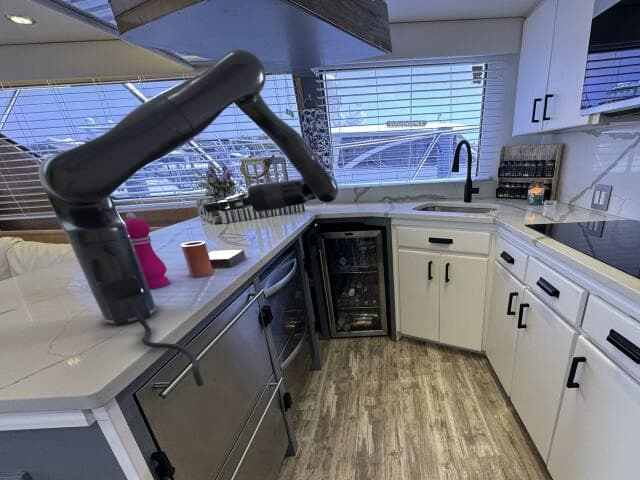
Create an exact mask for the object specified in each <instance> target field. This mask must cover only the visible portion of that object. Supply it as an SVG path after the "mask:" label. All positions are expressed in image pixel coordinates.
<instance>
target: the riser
mask: <svg viewBox="0 0 640 480" xmlns="http://www.w3.org/2000/svg"><path fill="white" fill-rule="evenodd" d="M208 253H209V257H210V260H211V264H212V267H213V269H226V268H227V269H229V268H230V269H231V268H232V267H234V266H236V265H238V264H239V263H240V262H242V261H243V260H245V259H246V254H245V250H244V249H235V250H234V249H233V250H212V251H210V252H208Z"/></svg>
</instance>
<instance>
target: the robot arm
mask: <svg viewBox="0 0 640 480" xmlns="http://www.w3.org/2000/svg"><path fill="white" fill-rule="evenodd" d="M266 79H267V78H266V70H265V67H264V64H263V62H262V61H261V59H259V57H258V56H257V55H255V53H253V52H251V51H249V50H247V49H242V48H235V49H232V50H229V51H228V52H227V53H225V54H224V55H223V56H222V57H221V58H219V59H218V60H217V61H216V62H215V63H213V64H212V65H210V66H209V67H208V68H207V69H205V70H204V71H203V72H202V71H201V73H199V74H197V75H195V76H193V77H190V78H188V79H186V80H184V81H182V82H180V83H178V84H176V85H174V86H172V87H171V88H169V89H167V90H165V91H162V92H160V93H159V94H157V95H155V96H153V97H152V98H149V99H148V100H146V101H145V102H143V103H141V104H140V105H138V106H137V107H135V108H134V109H132V110H131V111H130V112H129V113H128V114H125V116H124V117H123V118H122V119H121V120H120V121H118V123H116V124H115V125H114V126H113V127H112V128H111V129H109V130H108V131H107V132H105V133H103V134H102V135H100V136H98V137H96V138H93V139H91V140H89V141H86V142H84V143H82V144H80V145H78V146H75V147H73V148H70V149H67V150H64V151H61V152H57V153H55V154H52V155H49V156H48V157H46V158H45V159H43V160H42V162H41V163H40V165H39V167H38V179H39V181H40V185H41V186H42V189H43V191H44V193H45V195H46V197H47V200H48V202H49V204H50V206H51V208H52V210H53V212H54V214H55V216H56V219H57V221H58V224H59V225H60V227H61V229H62V230H63V232H64V234H65V236H66V238H67V240H68V242H69V244H70V246H71V248H72V251H73V253H74V255H75V258H76V260H77V262H78V265H79V266H80V269H81V270H82V273H83V275H84V278H85V281H86V282H87V284H88V287H89V289H90V291H91V293H92V295H93V297H94V299H95V302H96V304H97V306H98V308H99V310H100V313H101V314H102V315H101V316H102V317H103V320H104V323H105V324H108V325H115V326H116V327H118V326H121V325H125V324H129V323H133V322H137V321H138V322H139V323H140V324H141V326H142V327H143V328H144V331H145V334H144V336H143V338H142V344H143V345H145V346H146V347H149V348H158V349H159V348H160V349H173V350H177V351H178V352H181V353H183V354H184V355H185V356H186V357H187V358H188V359H189V361H190V362H191V364H192V375H193V378H194V381H195V383H196V385H197V387H203V386H204V383H205V382H204V380H203V378H202V375H201V372H200V368H199V367H200V366H199V361H198V359H197V357H196V356H195V354H193V352H192V351H191V350H190V349H188V348H187V347H185V346H183V345H181V344H177V343H169V342H167V343H165V342H163V343H162V342H152V341H149V339H150V338H151V336H152V330H151V327H150V325H149V324H148V322H147V321H146V320H145V319H148V318H150V317H152V315H153V314H155V313H156V312H157V311H158V306H157V304H156V302H155V300H154V297H153V295H152V292H151V289H150V288H149V287H148V284H147V281H146V279H145V276H144V273H143V271H142V268H141V265H140V263H139V260H138V257H137V255H136V252H135V249H134V246H133V244H132V241H131V238H130V236H129V233H128V230H127V228H126V225H125V223H124V220H123V219H122V217H121V216H120V213H119V212H118V211H117V207H116V205H115V202H114V200H113V197H112V194H113V193H115V192H116V191H117V190H118V189H119V188H120V187H121V186H123V184H125V183H126V182H127V181H128V180H129V179H130V178H132V177H133V176H134V175H135V174H136V173H138V172H139V171H140V170H142V169H144V168H146V167H147V166H149V165H151V164H153V163H155V162H157V161H159V160H162V159H163V158H165V157H167V156H168V155H171V154H172V153H174V152H175V151H177V150H179V149H180V148H182V147H183V146H186V145H187V144H188V143H190V142H191V141H192V140H194V139H196V138H197V137H198V136H199V135H200V134H201V133H203V132H204V131H205V130H206V129H207V128H208V127H210V125H211V124H212V123H213V122H214V121H215V120H216V119H217V118H218V117H219V116H220V115H221V114H222V113H223V112H224V111H225V110H226V109H227V108H229V107H230V106H231V105H233V104H234V105H235V106H236V107H237V108H238V109H239V111H241V112H242V113H243V114H244V115H245V116H246V117H247V118H248V119H250V121H251V122H253V124H255V125H256V126H257V128H258V129H260V131H262V133H264V134H265V136H267V137H268V139H269V140H270V141H271V142H272V143H273V144H274V145H275V146H276V148H278V150H279V151H280V152H281V153H282V155H283V156H284V157H285V159H286V160H287V161H288V162H289V163H290V164H291V166H292V167H293V168H294V169H295V171H296V172H297V173H298V174H299V175H300V177H301V178H298V179H290V180H283V181H269V182H263V183H258V184H251V185H249V186H248V187H247V193H245V192H240V193H236V194H232V195H229V196H228V197H224V198H216V199H214V202H208V203H205V204H204V205H203V206H204V209H205V211H206V212H207V213H212V212H219V211H221V212H223V213H225V212H228V211H237V210H245V209H247V208H250V206H251V207H252V209H253V210H254V212H255V213H263V212H269V211H274V210H280V209H285V208H289V207H295V206H300V205H303V204H306V203H307V202H308V201H312V200H319V201H320V202H321V203H332V202H333V201H334V200H336V198H338V194H339V187H338V182H337V180H336V178H335V177H334V176H333V175H331V174H329V173H328V172H327V170H326V169H325V168H324V167H323V165H322V164H321V162H320V160H319V158H318V156H317V155H316V153H315V152H314V151H313V149H312V148H311V147H310V144H308V143H307V141H306V140H305V139H304V138H303V136H302V135H301V134H300V133H299V132H298V131H297V130H296V129H294V128H293V127H292V126H290V125H289V123H287V122H285V121H284V120H283V119H281V118H280V117H279V116H278V115H276V113H275V112H274V111H273V110H272V109H271V108H270V107H269V106H268V104H267V103H266V101H265V100H264V98H263V97H262V95H261V94H260V93H261V92H262V91H263V90H264V87H265V84H266Z"/></svg>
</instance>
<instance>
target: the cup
mask: <svg viewBox="0 0 640 480" xmlns="http://www.w3.org/2000/svg"><path fill="white" fill-rule="evenodd" d="M180 247H181V250H182V254H183V257H184V260H185V264H186V267H187V269H188V273H189V275H190V277H191V278H203V277H207V276H210V275H213V274H214V268H213V267H212V264H211V260H210V257H209V253H210V252H209V251H208V246H207V243H206V241H204V240H203V241H202V240H198V241H190V242H185V243H181V245H180Z"/></svg>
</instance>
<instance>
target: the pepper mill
mask: <svg viewBox="0 0 640 480" xmlns="http://www.w3.org/2000/svg"><path fill="white" fill-rule="evenodd" d="M125 217H126V219H125V220H123V222H124V223H125V225H126V228H127V230H128V233H129V236H130V238H131V241H132V244H133V246H134V249H135V252H136V255H137V257H138V260H139V263H140V265H141V268H142V271H143V273H144V276H145V279H146V281H147V284H148V287H149V288H150V290H153V289H158V288H161V287H165V286H166V285H168V284H169V283H170V281H169V278H168V276H167V275H166V273H167V270H168V269H167V266H166V264H165V263H164V261H163V260H162V259H161V258H160V257H159V256H158V255H157V254H156V252H155V250H154V249H153V247H152V239H151V236H150V235H149V234H150V232H151V227H150V225H149V224H148V223H147V222H146V220H143V219H141V218H136V215H135V213H133V212H127V213H126V215H125Z"/></svg>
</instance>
